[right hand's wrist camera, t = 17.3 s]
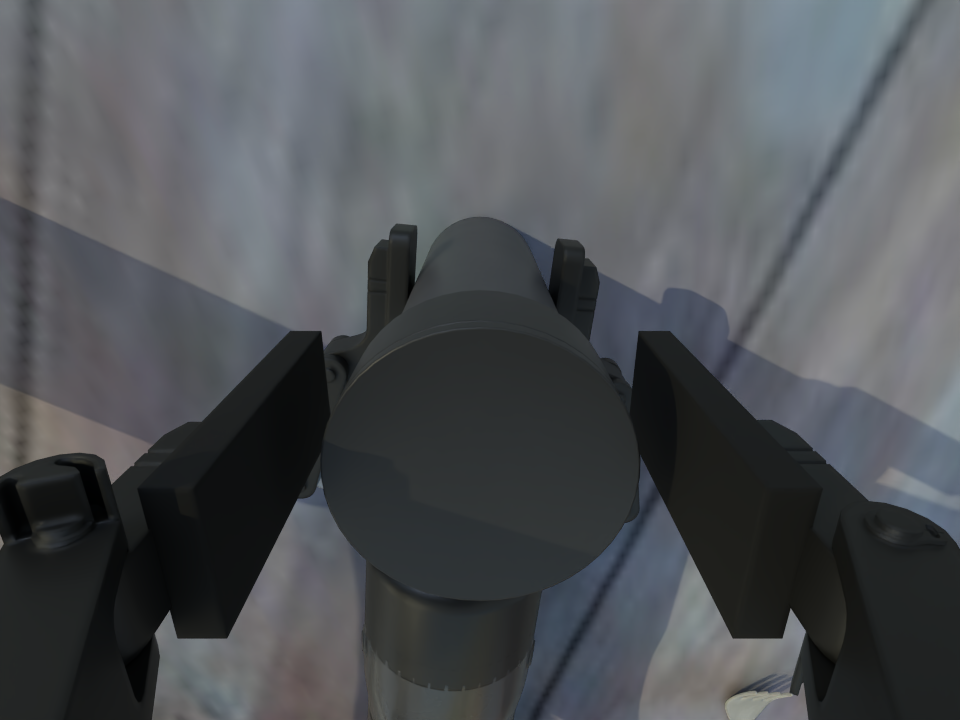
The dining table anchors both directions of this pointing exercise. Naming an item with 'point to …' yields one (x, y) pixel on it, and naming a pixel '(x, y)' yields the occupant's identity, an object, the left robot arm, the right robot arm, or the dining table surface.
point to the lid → (480, 449)
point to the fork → (750, 704)
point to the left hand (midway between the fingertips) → (488, 237)
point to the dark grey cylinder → (480, 263)
